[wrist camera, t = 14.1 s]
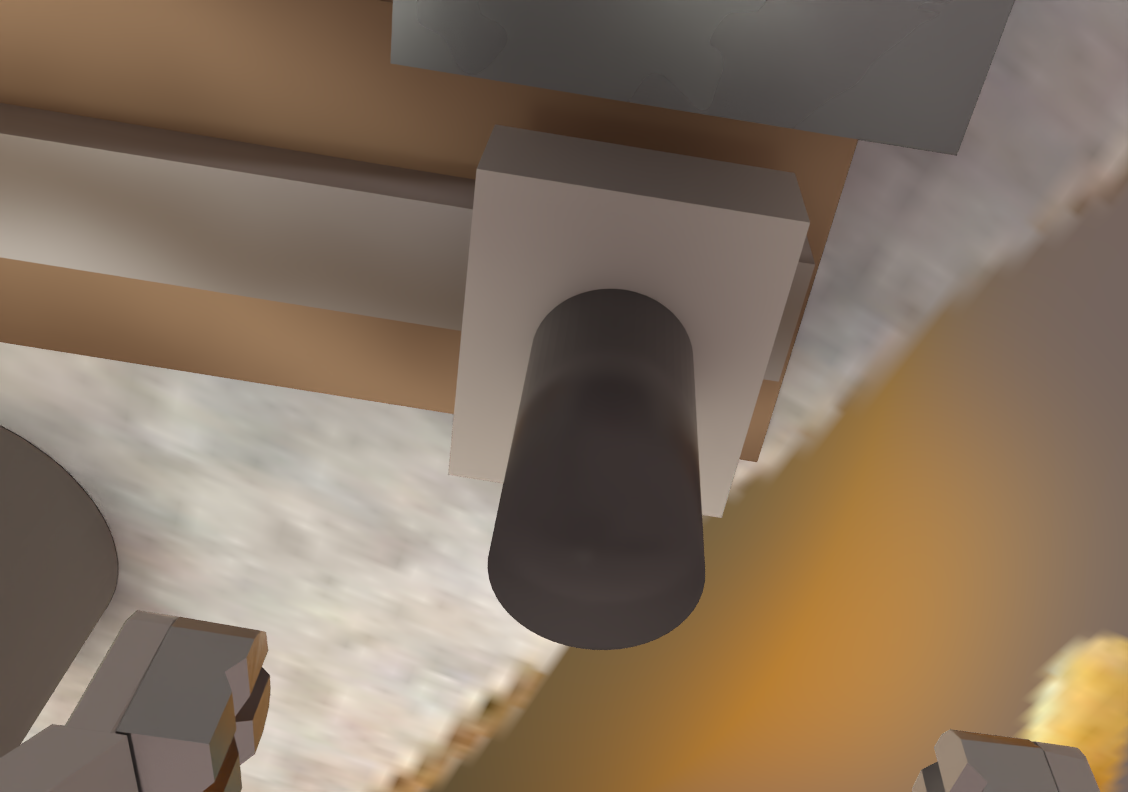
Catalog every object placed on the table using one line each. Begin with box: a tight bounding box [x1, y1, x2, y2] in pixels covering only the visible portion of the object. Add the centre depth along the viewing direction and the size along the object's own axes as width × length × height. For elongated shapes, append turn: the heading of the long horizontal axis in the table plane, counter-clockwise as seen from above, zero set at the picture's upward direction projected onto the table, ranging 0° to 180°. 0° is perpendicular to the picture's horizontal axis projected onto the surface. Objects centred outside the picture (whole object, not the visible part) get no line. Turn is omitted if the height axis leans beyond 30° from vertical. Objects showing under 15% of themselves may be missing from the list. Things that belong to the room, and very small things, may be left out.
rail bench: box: [0, 0, 858, 462], centre depth 23 cm, size 10×21×2 cm, turn 82°
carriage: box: [448, 125, 810, 650], centre depth 18 cm, size 7×6×8 cm
